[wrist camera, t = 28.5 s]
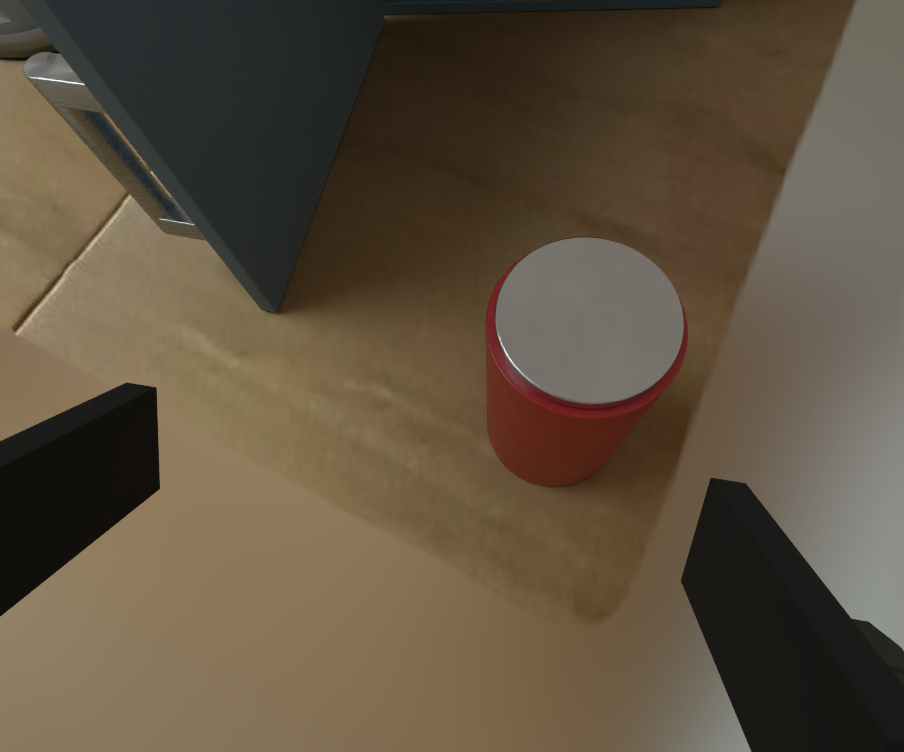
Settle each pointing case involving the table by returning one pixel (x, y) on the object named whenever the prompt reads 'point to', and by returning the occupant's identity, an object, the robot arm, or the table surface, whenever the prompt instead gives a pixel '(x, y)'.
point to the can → (577, 355)
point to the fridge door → (213, 111)
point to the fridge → (531, 5)
